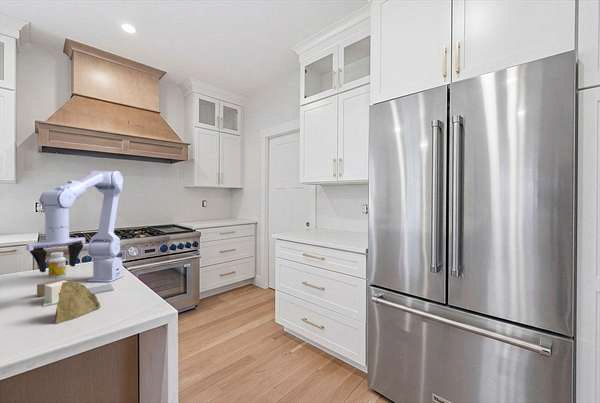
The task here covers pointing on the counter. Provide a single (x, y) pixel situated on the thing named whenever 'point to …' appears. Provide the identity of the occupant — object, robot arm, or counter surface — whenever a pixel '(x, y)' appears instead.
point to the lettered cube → (53, 291)
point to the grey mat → (100, 289)
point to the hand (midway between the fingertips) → (58, 268)
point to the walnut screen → (42, 288)
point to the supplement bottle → (57, 265)
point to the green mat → (49, 303)
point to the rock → (74, 302)
